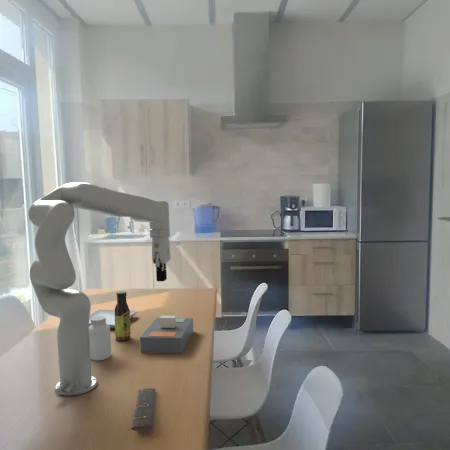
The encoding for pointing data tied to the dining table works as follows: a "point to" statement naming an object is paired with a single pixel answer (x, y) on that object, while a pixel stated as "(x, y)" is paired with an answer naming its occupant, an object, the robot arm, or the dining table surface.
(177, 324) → the switch box
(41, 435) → the dining table surface
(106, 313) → the salad plate
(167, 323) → the switch knob
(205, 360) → the dining table surface
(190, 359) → the dining table surface
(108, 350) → the pill bottle
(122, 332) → the sauce bottle
